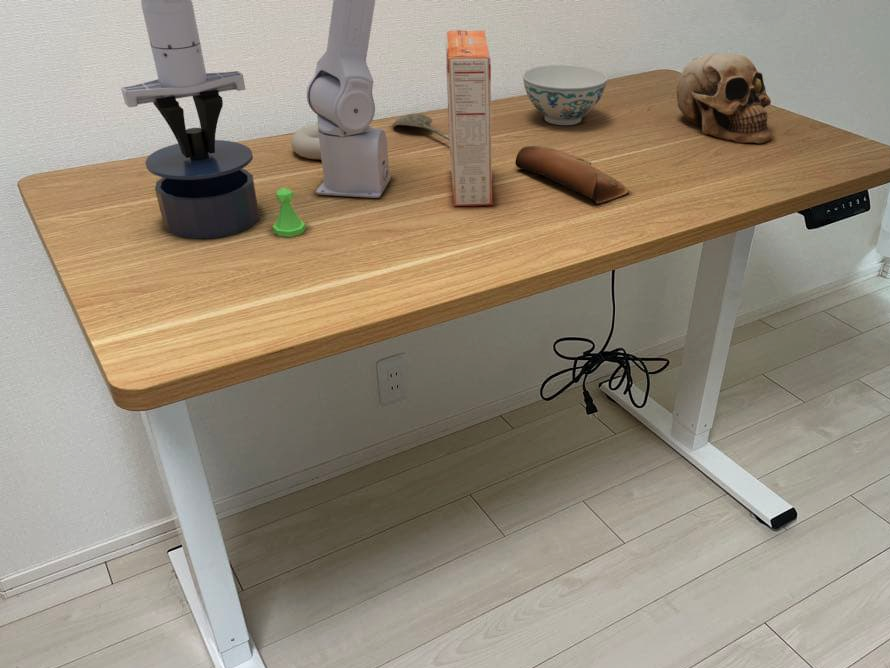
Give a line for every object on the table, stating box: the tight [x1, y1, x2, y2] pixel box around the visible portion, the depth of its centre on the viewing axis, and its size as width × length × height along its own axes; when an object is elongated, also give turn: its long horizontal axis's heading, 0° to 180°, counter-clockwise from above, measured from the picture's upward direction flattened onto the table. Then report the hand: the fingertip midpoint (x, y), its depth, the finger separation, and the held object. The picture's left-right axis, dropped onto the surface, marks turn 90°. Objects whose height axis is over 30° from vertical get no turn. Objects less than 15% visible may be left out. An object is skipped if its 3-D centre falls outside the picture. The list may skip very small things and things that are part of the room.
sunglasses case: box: [515, 145, 630, 205], centre depth 129 cm, size 18×7×7 cm
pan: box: [154, 168, 260, 240], centre depth 115 cm, size 12×12×5 cm
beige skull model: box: [676, 52, 772, 144], centre depth 150 cm, size 16×17×13 cm
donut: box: [290, 124, 322, 161], centre depth 137 cm, size 10×4×10 cm
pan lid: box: [145, 127, 254, 180], centre depth 110 cm, size 13×13×5 cm
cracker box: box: [445, 29, 493, 207], centre depth 121 cm, size 14×6×21 cm, turn 5°
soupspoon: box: [392, 113, 450, 141], centre depth 143 cm, size 22×3×7 cm
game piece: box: [272, 187, 307, 238], centre depth 112 cm, size 4×4×6 cm
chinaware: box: [522, 64, 608, 126], centre depth 152 cm, size 15×15×8 cm
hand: (198, 153), depth 111 cm, fingers closed on pan lid, 2 cm apart
